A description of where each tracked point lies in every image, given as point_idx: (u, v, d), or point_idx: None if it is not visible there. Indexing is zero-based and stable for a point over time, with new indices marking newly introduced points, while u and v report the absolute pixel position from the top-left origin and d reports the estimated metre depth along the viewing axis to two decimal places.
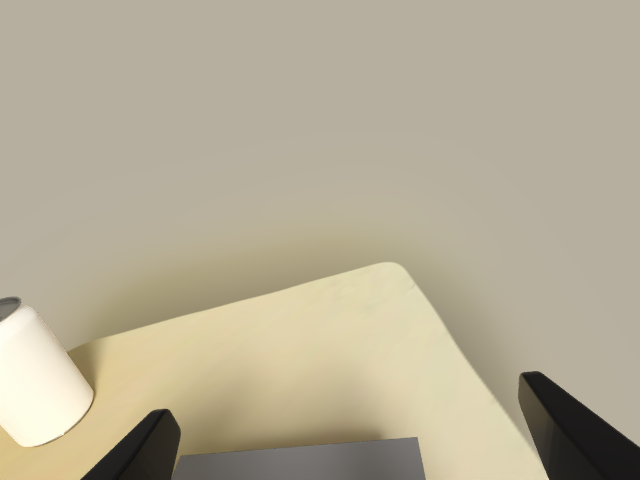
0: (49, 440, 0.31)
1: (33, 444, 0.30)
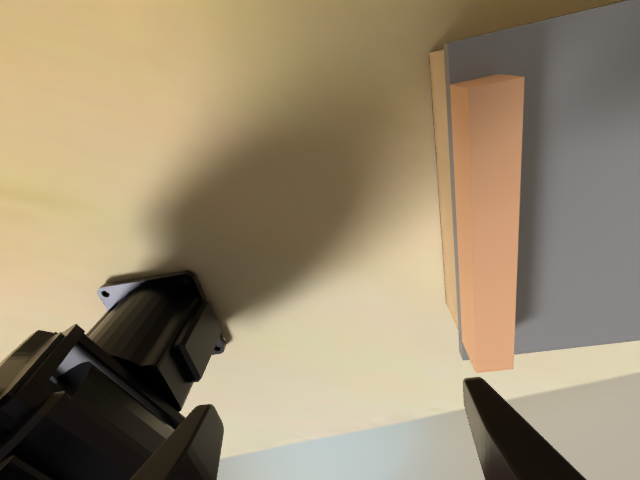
0: None
1: None
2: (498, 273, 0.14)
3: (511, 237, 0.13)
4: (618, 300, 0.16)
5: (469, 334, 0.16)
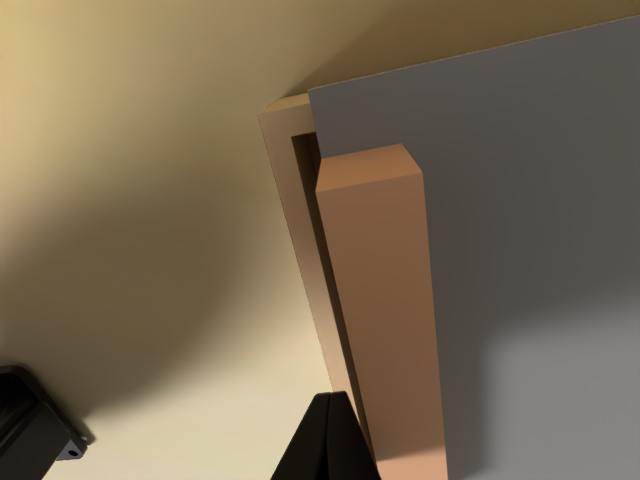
0: None
1: None
2: (416, 459, 0.08)
3: (430, 415, 0.08)
4: (613, 455, 0.11)
5: None
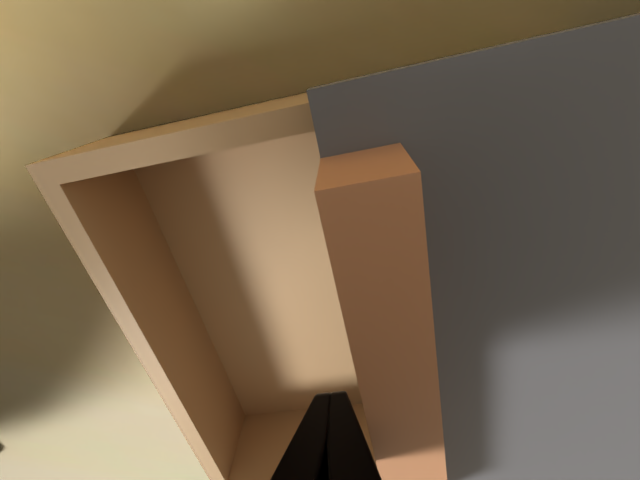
0: None
1: None
2: (416, 457, 0.08)
3: (430, 413, 0.08)
4: (612, 454, 0.11)
5: None
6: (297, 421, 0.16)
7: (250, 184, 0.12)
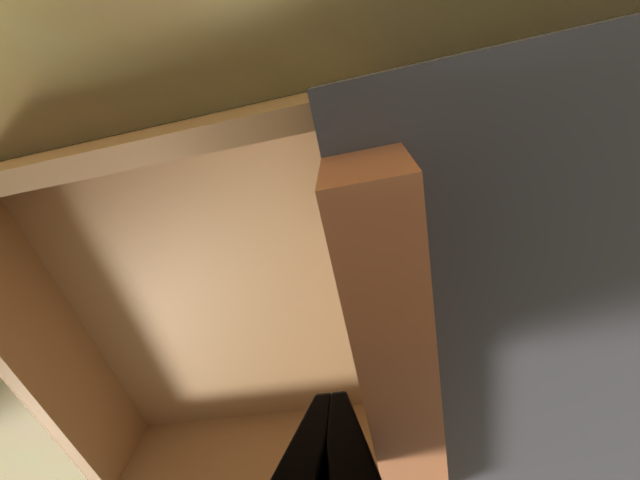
0: None
1: None
2: (417, 458, 0.08)
3: (431, 414, 0.08)
4: (614, 454, 0.11)
5: None
6: (192, 432, 0.17)
7: (110, 211, 0.12)
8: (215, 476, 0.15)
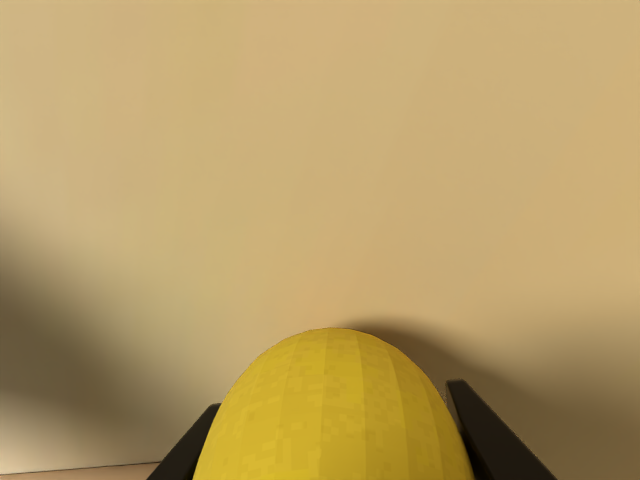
0: None
1: None
2: None
3: None
4: None
5: None
6: None
7: None
8: None
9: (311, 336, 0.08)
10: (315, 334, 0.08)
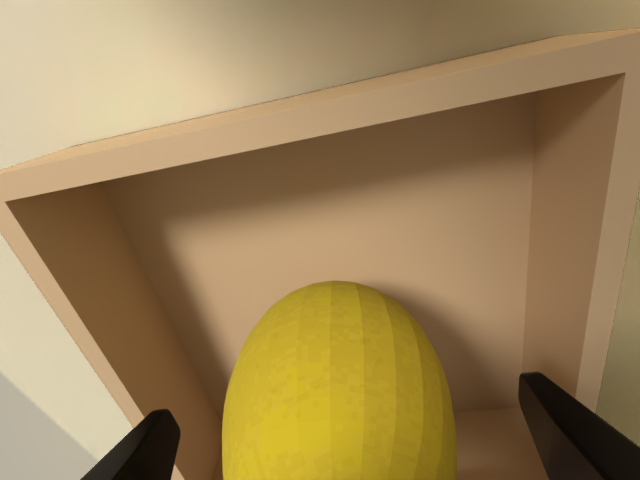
0: None
1: None
2: None
3: None
4: None
5: None
6: (119, 249, 0.11)
7: (470, 211, 0.11)
8: (108, 340, 0.10)
9: (318, 284, 0.10)
10: (321, 283, 0.10)
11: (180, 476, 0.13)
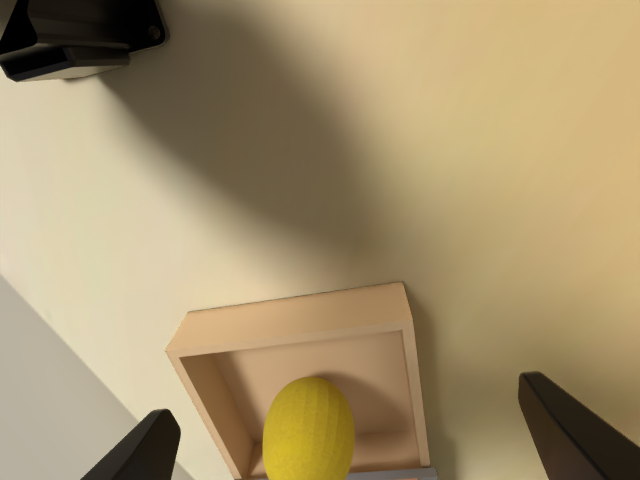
0: None
1: None
2: None
3: None
4: None
5: None
6: (208, 358, 0.24)
7: (374, 343, 0.23)
8: (207, 404, 0.23)
9: (302, 381, 0.22)
10: (303, 381, 0.22)
11: (234, 467, 0.25)
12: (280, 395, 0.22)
